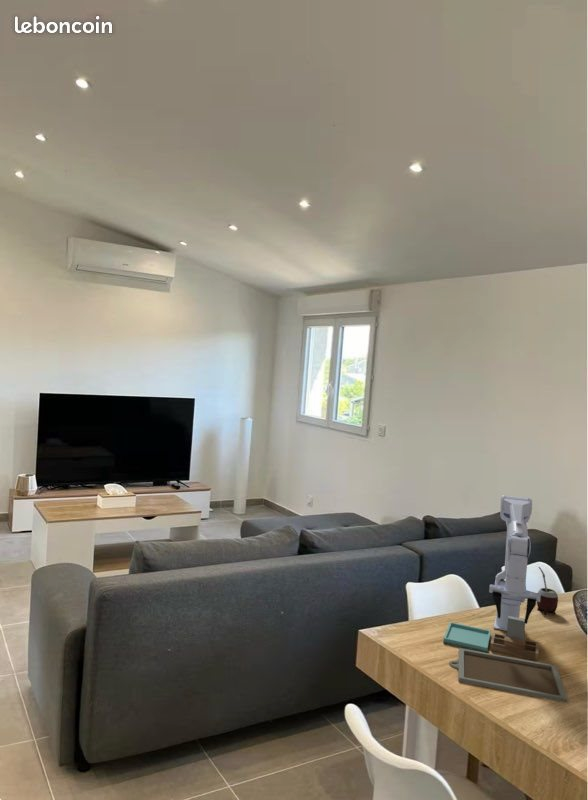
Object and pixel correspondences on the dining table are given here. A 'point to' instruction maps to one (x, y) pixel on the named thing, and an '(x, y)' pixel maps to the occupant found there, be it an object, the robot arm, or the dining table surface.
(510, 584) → the robot arm
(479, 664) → the gray framed board
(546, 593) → the mate gourd
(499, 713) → the dining table surface
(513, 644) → the offcut upper
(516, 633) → the slate gray block
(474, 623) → the dining table surface
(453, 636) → the tray
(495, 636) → the rack
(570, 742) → the dining table surface
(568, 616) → the dining table surface
